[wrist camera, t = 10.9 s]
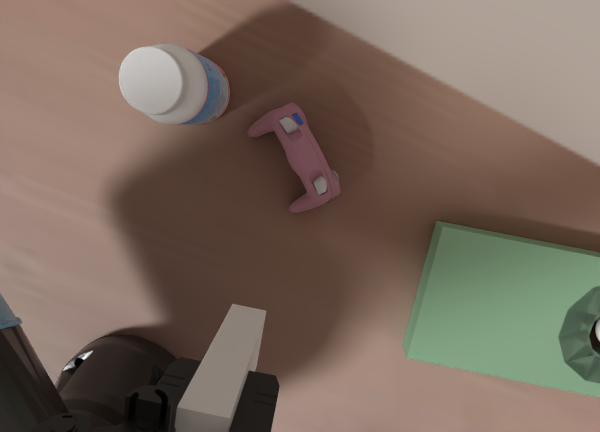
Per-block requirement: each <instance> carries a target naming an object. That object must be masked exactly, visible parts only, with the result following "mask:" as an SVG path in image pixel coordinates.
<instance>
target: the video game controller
mask: <svg viewBox="0 0 600 432" xmlns="http://www.w3.org/2000/svg"><path fill="white" fill-rule="evenodd" d="M273 131H275V133H276V135H277V137H278V139H279V140H280V142H281V144H282V145H283V147H284V149H285V153H286V157H287V160H288V162H289V164H290V166H291V168H292V169H293V170H294V171H295V172H296V173H297V174H298V175H299V177H300V179H301V181H302V183H303V185H304V187H305V189H306V191H307V193H305V194H304V195H303V196H301V197H300V198H298V199H297V200H295V201H294V202H293V203H292V204H291V205H290V207H289V210H290V212H292V213H300V212H303V211H307V210H310V209H313V208H316V207H319V206H321V205H322V204H324V203H327V202H328V201H330V200H332V199H333V198H335V197H336V196H338V195H339V194H340V185H339V182H338V180H339V178H338V175H337V173H336V172H335V171H333V170H331V169H330V167H329V166H328V163H327V161H326V159H325V157H324V155H323V153H322V151H321V149H320V147H319V145H318V143H317V141H316V139H315V138H314V136H313V134H312V133H311V131H310V129H309V125H308V121H307V119H306V116H305V115H304V113H303V111H302V110H301V109H300V107H299V106H298V105H296V104H295V103H289V104H286V105H284V106H282V107H278V108H275V109H273V110H271V111H269V112H267V113H266V114H265V115H264V116H262V117H261V118H260V119H258V120H257V121H256V122H255V123H253V124H252V125H251V126H250V128H249V129H248V132H247V134H248V136H250V137H259V136H261V135H264V134H266V133H269V132H273Z"/></svg>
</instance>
